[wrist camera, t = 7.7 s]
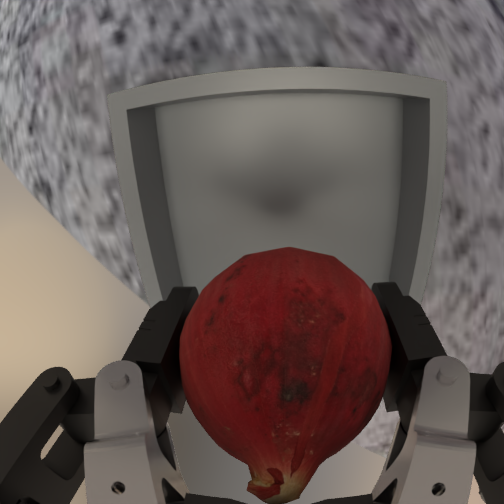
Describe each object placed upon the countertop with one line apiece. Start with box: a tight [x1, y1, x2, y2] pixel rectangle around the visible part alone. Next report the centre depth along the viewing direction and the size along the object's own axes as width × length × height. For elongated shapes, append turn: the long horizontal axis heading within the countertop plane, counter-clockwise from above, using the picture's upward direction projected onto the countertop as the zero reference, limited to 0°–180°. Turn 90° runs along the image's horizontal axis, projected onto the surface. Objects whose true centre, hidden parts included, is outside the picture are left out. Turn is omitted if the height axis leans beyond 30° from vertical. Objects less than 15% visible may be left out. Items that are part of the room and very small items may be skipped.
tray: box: [107, 67, 447, 308], centre depth 16 cm, size 16×16×4 cm
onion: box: [179, 247, 392, 504], centre depth 8 cm, size 6×6×8 cm
